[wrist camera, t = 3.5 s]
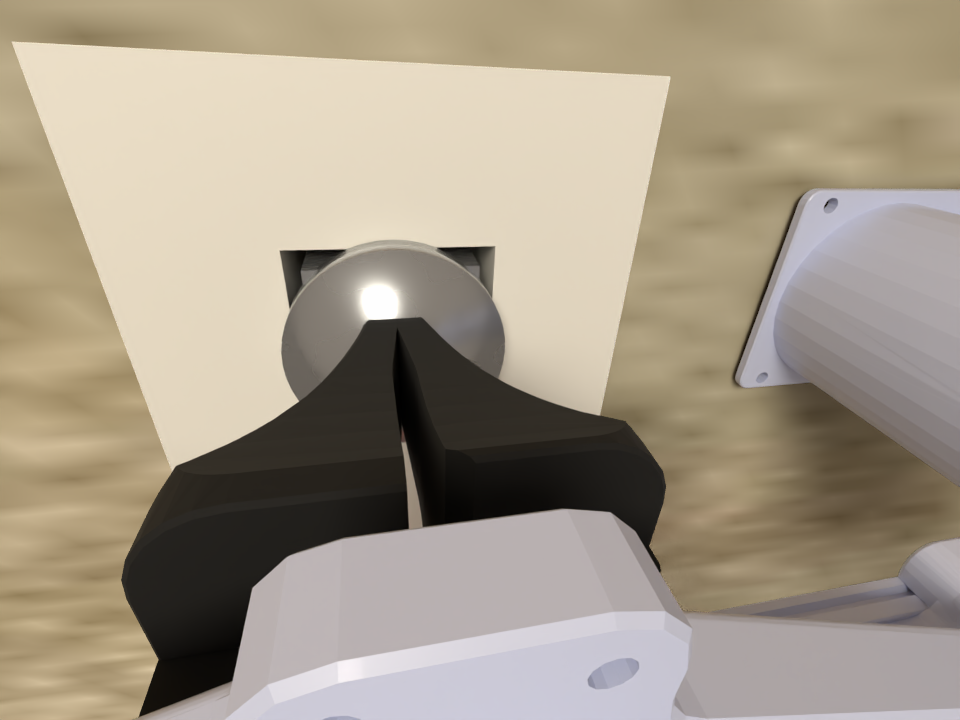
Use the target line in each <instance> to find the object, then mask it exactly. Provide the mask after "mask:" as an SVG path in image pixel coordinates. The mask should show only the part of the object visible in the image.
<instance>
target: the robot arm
mask: <svg viewBox="0 0 960 720" xmlns="http://www.w3.org/2000/svg"><path fill="white" fill-rule="evenodd" d="M828 200H829V201H828ZM827 201H828V204H827V206H826V207H825V208H824V205H825V204H826V202H827ZM758 375H759V376H758ZM735 380H736V382H737V383H738V384H739V385H740V386H742V387H743V388H753V387H764V386H776V385H788V384H799V383H813V384H814V385H815V386H817V387H818V388H820V389H821V390H822V391H824V392H825V393H827V394H828V395H830V396H831V397H832V398H834V399H835V400H837V401H838V402H839V403H841V404H842V405H844V406H845V407H847V408H848V409H849V410H851V411H852V412H854V413H855V414H857V415H858V416H859V417H861V418H862V419H864V420H865V421H866V422H868V423H869V424H871V425H872V426H874V427H875V428H876V429H878V430H879V431H881V432H882V433H883V434H885V435H886V436H888V437H889V438H891V439H892V440H893V441H895V442H896V443H898V444H899V445H901V446H902V447H903V448H905V449H906V450H908V451H909V452H910V453H912V454H913V455H915V456H916V457H918V458H919V459H920V460H922V461H923V462H925V463H926V464H927V465H929V466H930V467H932V468H933V469H935V470H936V471H937V472H939V473H940V474H942V475H943V476H945V477H946V478H947V479H949V480H950V481H952V482H953V483H954V484H956V485H957V486H959V487H960V189H837V188H816V189H811V190H810V191H808V192H806V193H805V194H804V195H803V197H802V198H801V199H800V201H799V203H798V206H797V209H796V211H795V214H794V217H793V220H792V222H791V225H790V228H789V231H788V233H787V236H786V239H785V241H784V244H783V247H782V250H781V252H780V255H779V258H778V261H777V263H776V266H775V269H774V272H773V274H772V277H771V280H770V282H769V285H768V288H767V291H766V293H765V296H764V299H763V302H762V304H761V307H760V310H759V313H758V315H757V318H756V321H755V323H754V326H753V329H752V332H751V334H750V337H749V340H748V343H747V345H746V348H745V351H744V354H743V356H742V359H741V362H740V364H739V367H738V370H737V373H736V376H735ZM402 427H403V432H404V436H405V441H406V445H407V450H408V454H409V459H410V463H411V468H412V472H413V476H414V481H415V485H416V490H417V494H418V499H419V505H420V511H421V518H422V527H420V528H413V529H409V518H408V496H407V481H406V472H405V462H404V454H403V449H402V443H401V439H402ZM665 489H666V484H665V479H664V474H663V471H662V469H661V468H660V466H659V465H658V463H657V462H656V461H655V459H654V458H653V456H652V455H651V453H650V452H649V451H648V449H647V448H646V446H645V445H644V443H643V442H642V441H641V439H640V438H639V437H638V436H637V435H636V433H635V432H634V431H633V430H632V428H631V427H630V426H629V425H628V424H627V423H626V421H622V420H617V419H613V418H608V417H604V416H599V415H594V414H590V413H585V412H581V411H577V410H574V409H571V408H567V407H564V406H561V405H558V404H555V403H552V402H549V401H546V400H543V399H541V398H538V397H535V396H533V395H531V394H528V393H526V392H524V391H521V390H519V389H517V388H515V387H513V386H511V385H509V384H507V383H505V382H503V381H501V380H499V379H498V378H496V377H494V376H492V375H491V374H489V373H487V372H485V371H484V370H482V369H481V368H479V367H478V366H476V365H475V364H474V363H472V362H471V361H469V360H468V359H467V358H465V357H464V356H463V355H461V354H460V353H459V352H458V351H456V350H455V349H454V348H453V347H452V346H451V345H450V344H448V343H447V342H446V341H445V340H444V339H443V338H442V337H441V336H440V335H439V334H438V333H437V332H436V331H435V330H434V329H433V328H432V327H431V326H430V325H429V324H428V323H427V322H426V321H425V320H424V319H423V318H422V317H416V318H397V319H377V320H368V321H367V322H366V323H365V324H364V325H363V328H362V329H361V331H360V333H359V335H358V337H357V338H356V340H355V341H354V343H353V344H352V346H351V347H350V349H349V350H348V351H347V353H346V354H345V356H344V357H343V358H342V360H341V361H340V362H339V363H338V364H337V365H336V367H335V368H334V369H333V370H332V371H331V372H330V374H329V375H328V376H327V377H326V378H325V379H324V380H323V381H322V382H321V383H320V384H319V385H318V386H317V387H316V388H315V389H314V390H313V391H311V392H310V393H309V394H308V395H307V396H306V397H304V398H303V399H302V400H300V401H299V402H298V403H296V404H295V405H293V406H292V407H290V408H289V409H288V410H286V411H285V412H283V413H282V414H280V415H279V416H278V417H276V418H275V419H273V420H271V421H270V422H268V423H266V424H265V425H263V426H261V427H259V428H258V429H256V430H254V431H252V432H250V433H248V434H247V435H245V436H243V437H241V438H239V439H237V440H235V441H233V442H231V443H229V444H227V445H225V446H222V447H220V448H218V449H215V450H213V451H211V452H208V453H206V454H204V455H201V456H199V457H197V458H194V459H192V460H190V461H187V462H185V463H182V464H179V465H177V466H176V467H175V468H174V470H173V472H172V473H171V475H170V476H169V478H168V480H167V481H166V483H165V484H164V486H163V487H162V489H161V490H160V492H159V493H158V495H157V497H156V499H155V501H154V502H153V504H152V506H151V508H150V510H149V512H148V514H147V516H146V518H145V520H144V522H143V524H142V526H141V528H140V530H139V532H138V534H137V537H136V539H135V541H134V543H133V545H132V547H131V549H130V551H129V553H128V555H127V557H126V559H125V564H124V569H123V574H122V579H121V581H122V584H123V588H124V592H125V595H126V599H127V601H128V603H129V605H130V607H131V608H132V610H133V612H134V614H135V616H136V618H137V620H138V622H139V624H140V625H141V627H142V629H143V631H144V633H145V635H146V637H147V639H148V640H149V642H150V644H151V646H152V648H153V650H154V652H155V654H156V655H157V657H158V659H159V660H158V663H157V666H156V669H155V671H154V674H153V677H152V680H151V683H150V686H149V689H148V692H147V695H146V697H145V700H144V703H143V706H142V709H141V712H140V715H139V717H138V718H136V719H133V720H960V537H958V538H952V539H946V540H941V541H935V542H931V543H928V544H926V545H923V546H922V547H920V548H919V549H917V550H915V551H914V552H913V553H912V554H911V555H910V556H909V557H908V558H907V560H906V561H905V562H904V564H903V566H902V567H901V569H900V571H899V575H898V577H892V578H887V579H882V580H876V581H871V582H866V583H861V584H855V585H850V586H845V587H839V588H834V589H829V590H823V591H818V592H813V593H808V594H802V595H797V596H792V597H786V598H781V599H776V600H770V601H765V602H760V603H754V604H749V605H744V606H739V607H733V608H728V609H723V610H717V611H712V612H694V611H682V610H681V608H680V607H679V605H678V603H677V601H676V600H675V598H674V596H673V595H672V593H671V591H670V589H669V588H668V586H667V584H666V583H665V581H664V579H663V578H662V576H661V574H660V572H661V569H660V564H659V562H658V561H657V559H656V557H655V556H654V554H653V552H652V551H651V549H650V547H649V545H650V542H651V539H652V536H653V533H654V530H655V526H656V523H657V520H658V517H659V514H660V511H661V508H662V505H663V501H664V495H665Z"/></svg>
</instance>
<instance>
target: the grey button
mask: <svg viewBox="0 0 960 720" xmlns="http://www.w3.org/2000/svg"><path fill="white" fill-rule="evenodd" d="M479 272H480V265H479V264H478V262H477V260H476V258H475V257H474V255H473V253H472V252H471V250H470V248H469V247H433V246H430V245H427V244H424V243H420V242H414V241H408V240H379V241H373V242H368V243H363V244H360V245H357V246H354V247H351V248H348V249H330V250H307V252H306V256H305V259H304V262H303V265H302V268H301V276H302V283H303V284H302V285H301V287H300V289H299V290H298V292H297V294H296V295H295V297H294V300H293V302H292V305H291V307H290V310H289V313H288V316H287V320H286V323H285V326H284V331H283V336H282V346H281V355H282V364H283V368H284V372H285V376H286V379H287V381H288V383H289V385H290V388H291V390H292V391H293V393H294V394H295V396H296V398H297V399H298V401H300V400H302V399H303V398H304V397H306V396H307V395H308V394H309V393H310V392H311V391H313V390H314V389H315V388H316V387H317V386H318V385H319V384H320V383H321V382H322V381H323V380H324V379H325V378H326V377H327V376H328V375H329V374H330V372H331V371H332V370H333V369H334V368H335V367H336V365H337V364H338V363H339V362H340V361H341V360H342V358H343V357H344V356H345V354H346V353H347V351H348V350H349V349H350V347H351V346H352V344H353V343H354V341H355V340H356V338H357V337H358V335H359V333H360V331H361V329H362V328H363V325H364V324H365V323H366V322H367V321H368V320H377V319H397V318H416V317H422V318H423V319H424V320H425V321H426V322H427V323H428V324H429V325H430V326H431V327H432V328H433V329H434V330H435V331H436V332H437V333H438V334H439V335H440V336H441V337H442V338H443V339H444V340H445V341H446V342H447V343H448V344H450V345H451V346H452V347H453V348H454V349H455V350H456V351H458V352H459V353H460V354H461V355H463V356H464V357H465V358H467V359H468V360H469V361H471V362H472V363H474V364H475V365H476V366H478V367H479V368H481V369H482V370H484V371H485V372H487V373H489V374H491V375H492V376H494V377H496V378H498V377H499V375H500V372H501V368H502V365H503V360H504V354H505V336H504V329H503V324H502V321H501V318H500V314H499V312H498V310H497V308H496V306H495V304H494V302H493V300H492V298H491V296H490V295H489V293H488V291H487V289H486V288H485V286H484V285H483V283H482V282H481V280H480V279H479ZM404 442H406V441H405V436H404V432H403V427H402V439H401V443H404Z"/></svg>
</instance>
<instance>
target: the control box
mask: <svg viewBox="0 0 960 720" xmlns="http://www.w3.org/2000/svg"><path fill="white" fill-rule="evenodd" d="M12 44H13V47H14V49H15V52H16V55H17V57H18V60H19V63H20V66H21V68H22V71H23V74H24V76H25V79H26V82H27V84H28V87H29V90H30V92H31V95H32V98H33V100H34V103H35V106H36V108H37V111H38V114H39V116H40V119H41V122H42V124H43V127H44V130H45V132H46V135H47V138H48V141H49V143H50V146H51V149H52V151H53V154H54V157H55V159H56V162H57V165H58V167H59V170H60V173H61V175H62V178H63V181H64V183H65V186H66V189H67V191H68V194H69V197H70V199H71V202H72V205H73V207H74V210H75V213H76V216H77V218H78V221H79V224H80V226H81V229H82V232H83V234H84V237H85V240H86V242H87V245H88V248H89V250H90V253H91V256H92V258H93V261H94V264H95V266H96V269H97V272H98V274H99V277H100V280H101V282H102V285H103V288H104V291H105V293H106V296H107V299H108V301H109V304H110V307H111V309H112V312H113V315H114V317H115V320H116V323H117V325H118V328H119V331H120V333H121V336H122V339H123V341H124V344H125V347H126V349H127V352H128V355H129V357H130V360H131V363H132V366H133V368H134V371H135V374H136V376H137V379H138V382H139V384H140V387H141V390H142V392H143V395H144V398H145V400H146V403H147V406H148V408H149V411H150V414H151V416H152V419H153V422H154V424H155V427H156V430H157V432H158V435H159V438H160V441H161V443H162V446H163V449H164V451H165V454H166V457H167V459H168V462H169V465H170V467H171V470H172V472H173V470H174V468H175V467H176V466H177V465H179V464H182V463H185V462H187V461H190V460H192V459H194V458H197V457H199V456H201V455H204V454H206V453H208V452H211V451H213V450H215V449H218V448H220V447H222V446H225V445H227V444H229V443H231V442H233V441H235V440H237V439H239V438H241V437H243V436H245V435H247V434H248V433H250V432H252V431H254V430H256V429H258V428H259V427H261V426H263V425H265V424H266V423H268V422H270V421H271V420H273V419H275V418H276V417H278V416H279V415H280V414H282V413H283V412H285V411H286V410H288V409H289V408H290V407H292V406H293V405H295V404H296V403H298V402H299V401H298V399H297V398H296V396H295V394H294V393H293V391H292V390H291V388H290V385H289V383H288V381H287V379H286V376H285V372H284V368H283V364H282V355H281V346H282V336H283V331H284V326H285V323H286V320H287V316H288V313H289V310H290V307H291V305H292V302H293V300H294V297H295V295H296V294H297V292H298V290H299V289H300V287H301V285H302V284H303V283H302V276H301V268H302V265H303V262H304V259H305V256H306V252H307V250H330V249H348V248H351V247H354V246H357V245H360V244H363V243H368V242H373V241H379V240H408V241H414V242H420V243H424V244H427V245H430V246H433V247H469V248H470V250H471V252H472V253H473V255H474V257H475V258H476V260H477V262H478V264H479V265H480V272H479V279H480V280H481V282H482V283H483V285H484V286H485V288H486V289H487V291H488V293H489V295H490V296H491V298H492V300H493V302H494V304H495V306H496V308H497V310H498V312H499V314H500V318H501V321H502V324H503V329H504V336H505V354H504V360H503V365H502V368H501V372H500V375H499V377H498V379H499V380H501V381H503V382H505V383H507V384H509V385H511V386H513V387H515V388H517V389H519V390H521V391H524V392H526V393H528V394H531V395H533V396H535V397H538V398H541V399H543V400H546V401H549V402H552V403H555V404H558V405H561V406H564V407H567V408H571V409H574V410H577V411H581V412H585V413H590V414H594V415H599V416H600V413H601V408H602V403H603V398H604V394H605V389H606V384H607V379H608V375H609V370H610V365H611V360H612V355H613V351H614V346H615V341H616V336H617V331H618V327H619V322H620V317H621V312H622V308H623V303H624V298H625V293H626V288H627V284H628V279H629V274H630V269H631V265H632V260H633V255H634V250H635V245H636V241H637V236H638V231H639V226H640V221H641V217H642V212H643V207H644V202H645V198H646V193H647V188H648V183H649V178H650V174H651V169H652V164H653V159H654V154H655V150H656V145H657V140H658V135H659V131H660V126H661V121H662V116H663V111H664V107H665V102H666V97H667V92H668V87H669V83H670V78H671V77H670V76H651V75H632V74H613V73H594V72H575V71H556V70H538V69H519V68H500V67H481V66H462V65H443V64H424V63H405V62H386V61H367V60H348V59H330V58H311V57H292V56H273V55H254V54H235V53H216V52H197V51H178V50H159V49H140V48H121V47H103V46H84V45H65V44H46V43H27V42H12ZM402 449H403V454H404V462H405V472H406V481H407V496H408V518H409V529H413V528H420V527H422V518H421V511H420V505H419V499H418V494H417V490H416V485H415V481H414V476H413V472H412V468H411V463H410V459H409V454H408V450H407V445H406V442H404V443H402Z"/></svg>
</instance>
